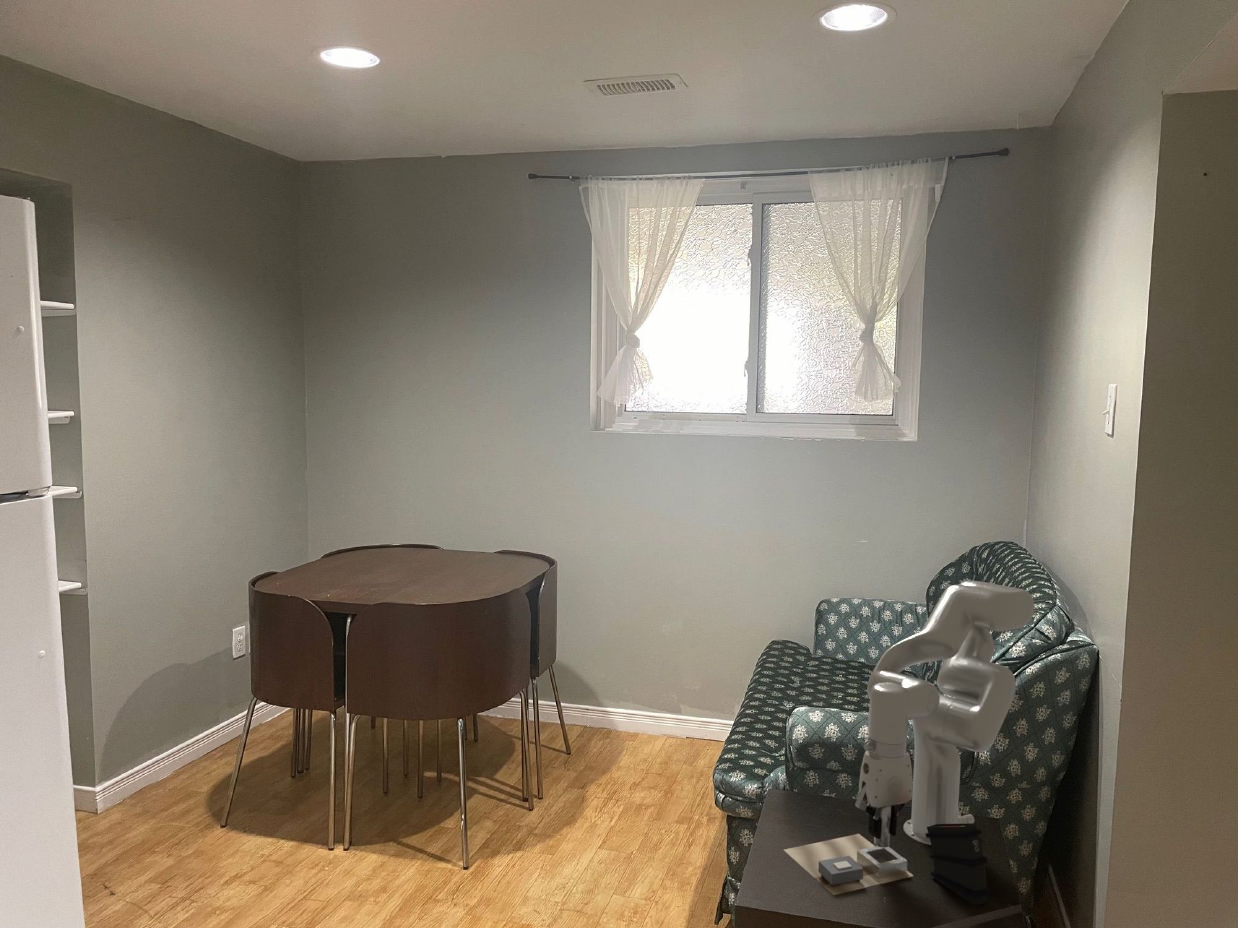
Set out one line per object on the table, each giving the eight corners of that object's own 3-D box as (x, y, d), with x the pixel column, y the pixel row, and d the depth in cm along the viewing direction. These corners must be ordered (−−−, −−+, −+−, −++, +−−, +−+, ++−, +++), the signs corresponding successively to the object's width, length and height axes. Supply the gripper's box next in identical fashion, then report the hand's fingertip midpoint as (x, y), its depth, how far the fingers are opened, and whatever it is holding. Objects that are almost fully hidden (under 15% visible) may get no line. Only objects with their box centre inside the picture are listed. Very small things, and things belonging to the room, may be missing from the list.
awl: (883, 837, 193) (886, 776, 192) (895, 846, 190) (898, 784, 188) (867, 840, 192) (871, 779, 190) (879, 849, 188) (883, 786, 187)
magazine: (987, 911, 175) (964, 826, 180) (938, 907, 186) (917, 827, 191) (1002, 906, 177) (978, 822, 181) (952, 902, 188) (931, 823, 192)
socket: (884, 855, 196) (885, 843, 196) (906, 872, 190) (907, 860, 189) (856, 861, 193) (857, 850, 193) (878, 879, 187) (878, 867, 187)
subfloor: (858, 837, 205) (858, 833, 205) (913, 880, 189) (913, 875, 188) (783, 854, 198) (783, 849, 198) (833, 899, 181) (833, 894, 181)
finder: (848, 869, 190) (849, 853, 190) (862, 882, 186) (863, 866, 185) (818, 875, 188) (818, 859, 188) (831, 888, 183) (832, 872, 183)
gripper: (864, 758, 182) (859, 849, 184) (932, 747, 188) (927, 836, 190) (841, 744, 189) (837, 832, 191) (907, 734, 195) (902, 819, 197)
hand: (882, 833), depth 190 cm, fingers closed on awl, 3 cm apart
